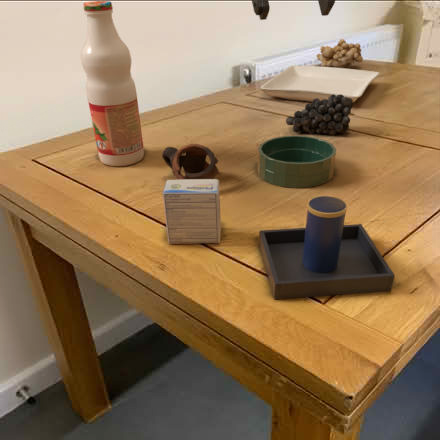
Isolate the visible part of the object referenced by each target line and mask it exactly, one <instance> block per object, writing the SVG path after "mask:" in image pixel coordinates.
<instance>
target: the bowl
mask: <svg viewBox="0 0 440 440" xmlns="http://www.w3.org/2000/svg"><path fill="white" fill-rule="evenodd" d="M336 154H337V148H336V147H335V145H334V144H333V143H331V142H329V141H327V140H325V139H322V138H319V137H314V136H308V135H282V136H277V137H272V138H269V139H267V140H265V141H263V142H261V143H260V144H259V146H258V148H257V174H258V176H259V178H260V179H262V181H264V182H266V183H269V184H271V185H273V186H279V187H282V188H292V189H304V188H307V189H308V188H313V187H317V186H322V185H324V184H326V183H328V182H329V181H330V180H331V179H332V178H333V177H334V171H335V163H336V156H337V155H336Z"/></svg>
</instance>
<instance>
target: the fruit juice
mask: <svg viewBox="0 0 440 440" xmlns="http://www.w3.org/2000/svg"><path fill="white" fill-rule="evenodd" d="M113 8H114V7H113V4H112V2H111V0H93V1H86V2H83V11H84V14H85V16H86V18H87V32H86V38H85V39H86V40H85V42H84V44H83V46H82V49H81V52H80V61H81V66H82V68H83V71H84V72H85V74H86V84H85V90H86V97H87V98H86V99H87V103H88V108H89V113H90V116H91V118H90V119H91V123H92V128H93V129H92V130H93V133H94V139H95V145H96V149H97V155H98V158H99V160H100V162H101V163H102V164H103V165H106V166H111V167H126V166H130V165H134V164H137V163H139V162H140V161H142V160H143V159H144V155H145V148H144V141H143V140H144V139H143V133H142V132H143V131H142V126H141V117H140V109H139V102H138V93H137V87H136V83H135V80H134V79H133V76H132V74H131V73H132V71H131V70H132V54H131V51H130V49H129V47H128V45H127V44H126V43H125V42H124V40H122V38H121V37H120V35H119V32H118V31H117V28H116V26H115V23H114V19H113V13H114V12H113Z"/></svg>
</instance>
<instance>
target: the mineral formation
mask: <svg viewBox="0 0 440 440" xmlns="http://www.w3.org/2000/svg"><path fill="white" fill-rule="evenodd" d="M319 50H320V52H319V53H317V54H316V59H317V61H319V62H321V64H320V67H334V68H346V67H349V66H350V65H351V63H352V64H354V65H355V64H356V63H358V64H361V63H362V62H363V61H364V58H363V56H362V48H361V44H360V43H353V42H351V43H349V42H347V41H346V40H345V39H343V38H341V39H339V40H338V43H337V45H334V46H333V47H332V46H328V45H326V46H323V45H322V46H320V48H319Z"/></svg>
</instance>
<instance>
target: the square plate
mask: <svg viewBox="0 0 440 440" xmlns="http://www.w3.org/2000/svg"><path fill="white" fill-rule="evenodd" d="M378 76H380V72H379V71H373V70H365V69H364V70H363V69H355V68H346V67H344V68H336V67H334V66H328V67H324V66H323V67H322V66H313V65H312V66H311V65H310V66H309V65H291V66H289V67H288V68H285V69H284V70H282V71H281V72H279V73H278V74H276V75H274V76H273V77H272V78H271V79H269V80H268V81H266V82H265V83H264V84H262V85H261V86H260V87H259V90H260V91H262V92H263V93H264V94H265V95H267V96H270V97H276V98H280V99H282V100H283V99H284V100H290V101H291V100H292V101H299V102H308V103H312V102H313V100H314V99H316V98H317V99H319V100H320V101H322V100H324V99H327V100H328V98H329V97H330V96H331V95H333V94H334V95H335V96H338V95H339V94H341V95H343V96H344V97H347V98H351V99H352V100H353V103H354V102H356V101H357V100H358V98H361V97H363V94H364V92H365V91H366V89H367V88H368V87H369V85H370V84H371V83H373V81H374V80H375V79H376V78H377V77H378Z"/></svg>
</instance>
